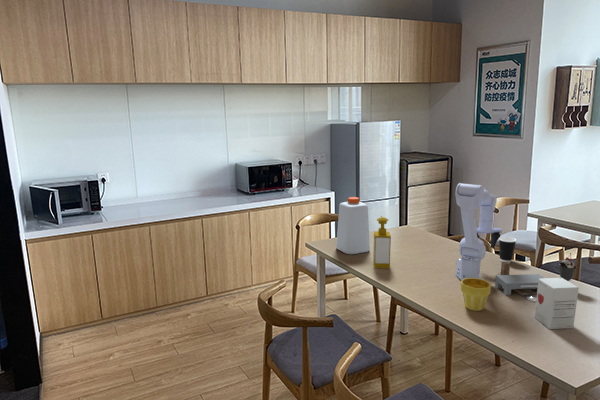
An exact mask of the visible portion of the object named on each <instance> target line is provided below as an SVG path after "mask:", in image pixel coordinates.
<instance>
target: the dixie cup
mask: <svg viewBox="0 0 600 400" xmlns="http://www.w3.org/2000/svg"><path fill="white" fill-rule="evenodd" d="M517 241H518V240H517V239H516V238H514V237H509V236H500V238H499V239H498V245H499V246H498V247H499V259H500V262H501V263H502V262H508V263H511V262H512V260H513V256H514V251H515V247H516V243H517Z"/></svg>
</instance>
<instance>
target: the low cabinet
mask: <svg viewBox="0 0 600 400" xmlns="http://www.w3.org/2000/svg"><path fill="white" fill-rule="evenodd" d="M541 278H545V277H544V276H542V275H540V274H539V273H533V274H532V273H530V274H526V273H525V274H523V273H522V274H510V275H501V274H496V275H495V282H494V283H495V284H494V287H495V288H496V289H503V295H505V296H511V295H512V290H513V289H531V290H532V289H538V281H539V279H541Z"/></svg>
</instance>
